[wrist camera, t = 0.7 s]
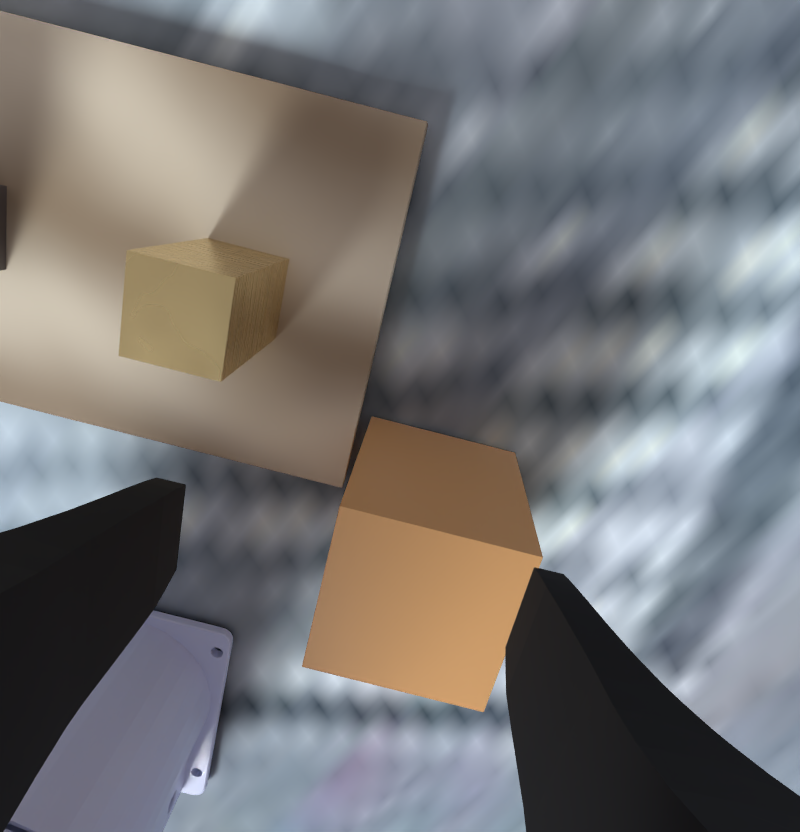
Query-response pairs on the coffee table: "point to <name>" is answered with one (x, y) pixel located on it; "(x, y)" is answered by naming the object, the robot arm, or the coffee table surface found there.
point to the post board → (190, 220)
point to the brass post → (200, 305)
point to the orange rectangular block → (425, 566)
